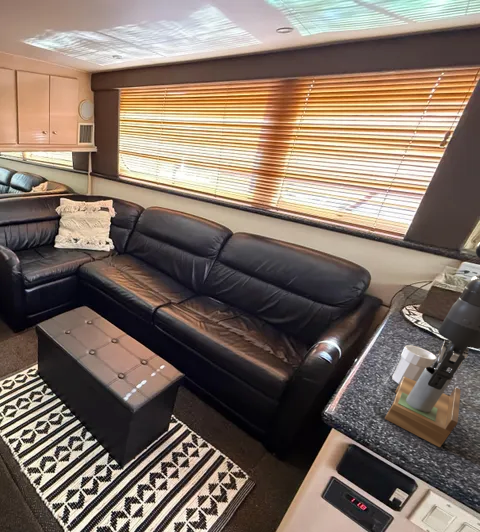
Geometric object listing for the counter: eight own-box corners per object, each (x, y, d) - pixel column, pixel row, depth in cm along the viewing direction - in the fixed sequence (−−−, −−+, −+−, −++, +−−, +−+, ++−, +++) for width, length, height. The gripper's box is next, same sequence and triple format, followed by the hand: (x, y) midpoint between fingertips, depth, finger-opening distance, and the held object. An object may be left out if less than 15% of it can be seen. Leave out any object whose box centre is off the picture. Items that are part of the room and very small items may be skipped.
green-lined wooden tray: (396, 389, 92) (409, 367, 89) (445, 412, 85) (461, 389, 82) (384, 418, 81) (398, 394, 78) (439, 447, 74) (458, 422, 71)
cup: (395, 372, 100) (411, 343, 96) (422, 387, 95) (441, 357, 90) (383, 376, 98) (400, 347, 94) (411, 392, 92) (429, 361, 88)
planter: (401, 396, 82) (420, 364, 78) (423, 401, 81) (443, 369, 77) (412, 409, 78) (433, 376, 74) (435, 415, 77) (457, 381, 73)
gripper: (499, 340, 63) (456, 402, 69) (496, 320, 72) (459, 377, 78) (445, 323, 68) (410, 382, 75) (449, 306, 77) (417, 360, 83)
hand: (435, 379), depth 76 cm, fingers open, 8 cm apart
